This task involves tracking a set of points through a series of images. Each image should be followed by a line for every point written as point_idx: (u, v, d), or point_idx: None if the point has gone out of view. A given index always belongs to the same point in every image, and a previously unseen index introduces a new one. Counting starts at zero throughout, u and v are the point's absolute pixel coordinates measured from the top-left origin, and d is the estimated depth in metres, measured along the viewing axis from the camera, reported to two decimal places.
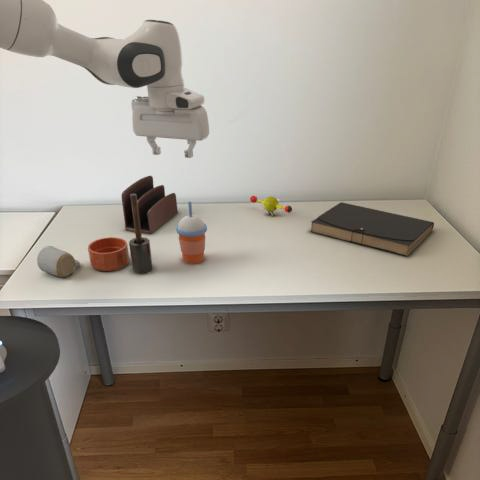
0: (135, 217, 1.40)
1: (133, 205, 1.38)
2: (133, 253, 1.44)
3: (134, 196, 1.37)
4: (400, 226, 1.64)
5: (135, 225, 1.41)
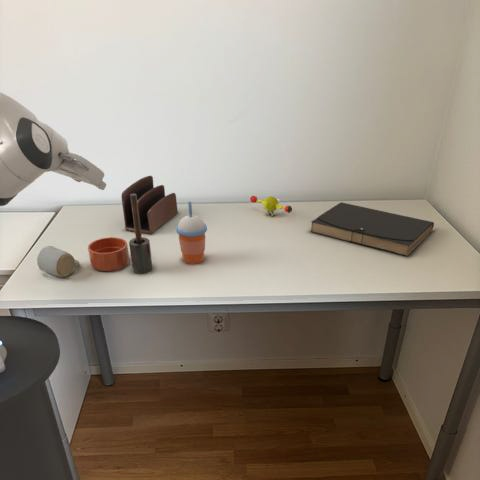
0: (135, 217, 1.40)
1: (133, 205, 1.38)
2: (133, 253, 1.44)
3: (134, 196, 1.37)
4: (400, 226, 1.64)
5: (135, 225, 1.41)
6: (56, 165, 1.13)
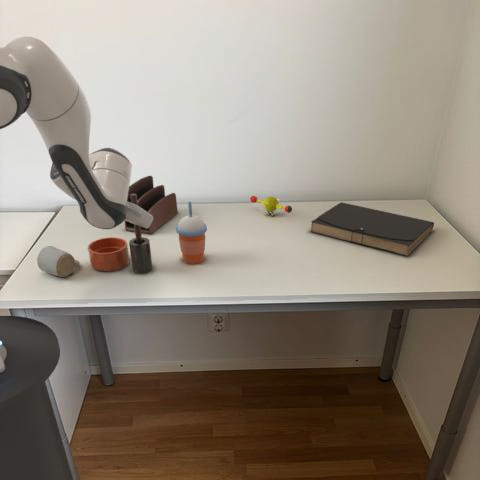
0: None
1: None
2: (133, 253, 1.44)
3: (134, 196, 1.37)
4: (400, 226, 1.64)
5: (135, 225, 1.41)
6: None
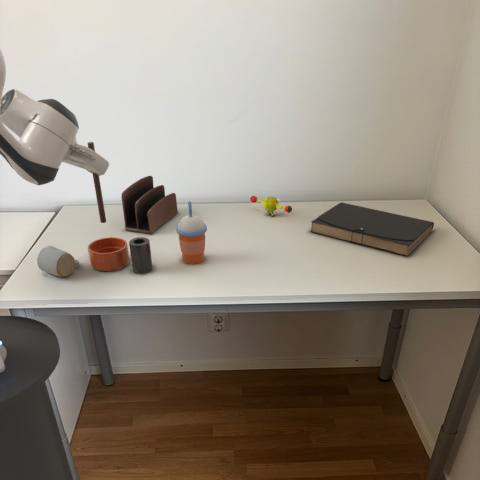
0: None
1: None
2: (133, 253, 1.44)
3: (91, 144, 1.33)
4: (400, 226, 1.64)
5: (94, 176, 1.38)
6: (66, 156, 1.26)
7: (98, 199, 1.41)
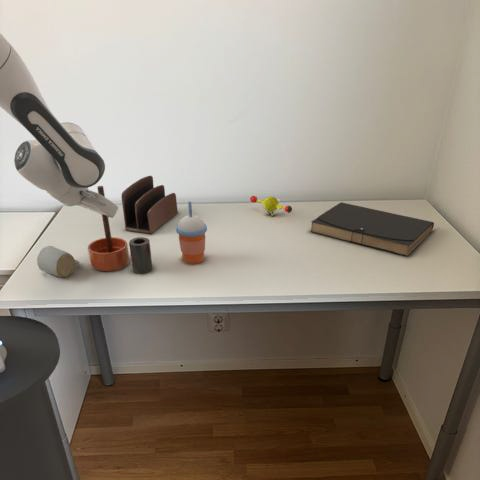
0: None
1: None
2: (133, 253, 1.44)
3: (101, 188, 1.41)
4: (400, 226, 1.64)
5: (103, 216, 1.46)
6: (78, 201, 1.33)
7: (107, 238, 1.49)
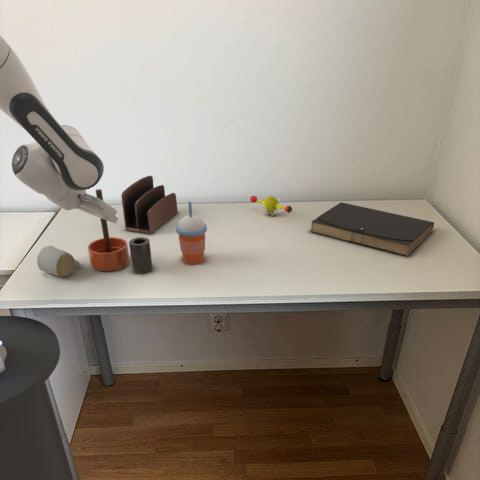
0: None
1: None
2: (133, 253, 1.44)
3: (99, 191, 1.40)
4: (400, 226, 1.64)
5: (101, 220, 1.45)
6: (76, 205, 1.32)
7: (105, 241, 1.48)
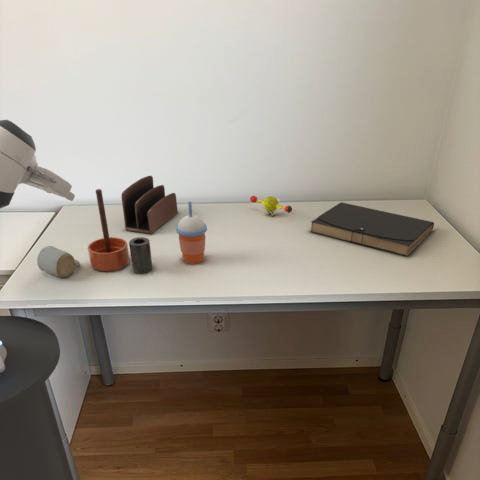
0: (101, 212, 1.43)
1: (99, 200, 1.41)
2: (133, 253, 1.44)
3: (99, 191, 1.40)
4: (400, 226, 1.64)
5: (101, 220, 1.45)
6: (25, 178, 1.20)
7: (105, 241, 1.48)
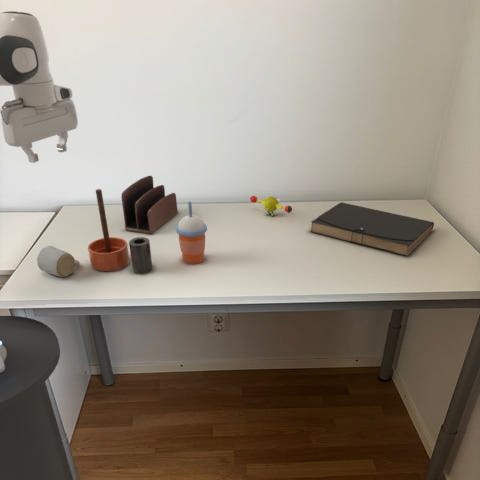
0: (101, 212, 1.43)
1: (99, 200, 1.41)
2: (133, 253, 1.44)
3: (99, 191, 1.40)
4: (400, 226, 1.64)
5: (101, 220, 1.45)
6: None
7: (105, 241, 1.48)
